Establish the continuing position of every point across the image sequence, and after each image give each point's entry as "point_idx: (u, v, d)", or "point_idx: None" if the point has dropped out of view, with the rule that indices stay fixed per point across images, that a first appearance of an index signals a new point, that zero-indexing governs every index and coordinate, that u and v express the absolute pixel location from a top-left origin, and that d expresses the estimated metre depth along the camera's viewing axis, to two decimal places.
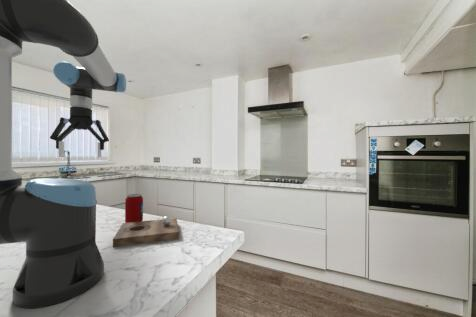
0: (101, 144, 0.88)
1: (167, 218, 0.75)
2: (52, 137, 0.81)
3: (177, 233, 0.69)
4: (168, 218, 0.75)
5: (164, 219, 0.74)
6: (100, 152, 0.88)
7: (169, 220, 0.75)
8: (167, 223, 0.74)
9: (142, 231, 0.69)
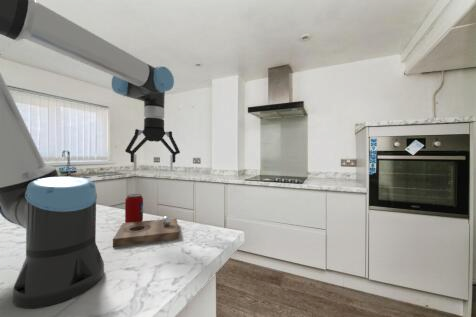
0: (174, 156, 0.84)
1: (167, 218, 0.75)
2: (127, 150, 0.76)
3: (177, 233, 0.69)
4: (168, 218, 0.75)
5: (164, 219, 0.74)
6: None
7: (169, 220, 0.75)
8: (167, 223, 0.74)
9: (142, 231, 0.69)
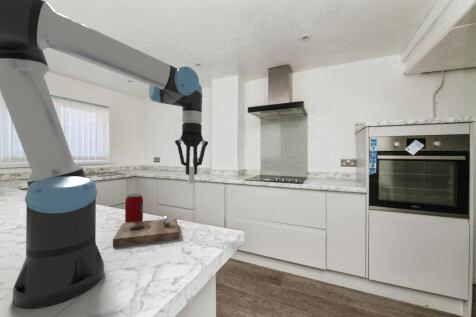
0: (195, 168, 0.79)
1: (167, 218, 0.75)
2: (183, 162, 0.76)
3: (177, 233, 0.69)
4: (168, 218, 0.75)
5: (164, 219, 0.74)
6: (193, 177, 0.79)
7: (169, 220, 0.75)
8: (167, 223, 0.74)
9: (142, 231, 0.69)
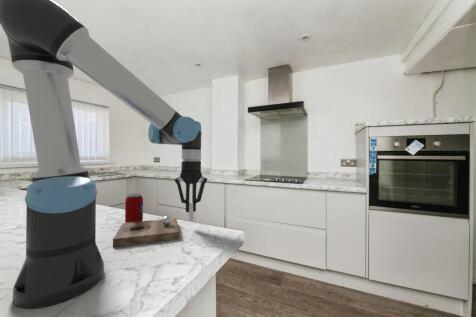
0: (194, 205, 0.79)
1: (167, 218, 0.75)
2: (183, 200, 0.77)
3: (177, 233, 0.69)
4: (168, 218, 0.75)
5: (164, 219, 0.74)
6: (192, 214, 0.79)
7: (169, 220, 0.75)
8: (167, 223, 0.74)
9: (142, 231, 0.69)
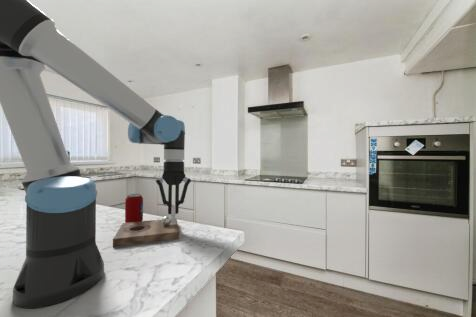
0: (177, 207, 0.76)
1: (167, 218, 0.75)
2: (165, 202, 0.74)
3: (177, 233, 0.69)
4: (168, 218, 0.75)
5: (164, 219, 0.74)
6: None
7: (169, 220, 0.75)
8: (167, 223, 0.74)
9: (142, 231, 0.69)
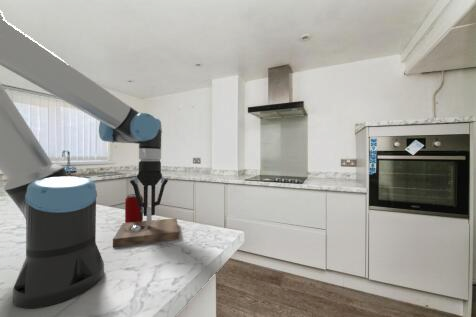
0: (153, 208, 0.73)
1: (136, 228, 0.71)
2: (140, 203, 0.71)
3: (177, 233, 0.69)
4: (137, 228, 0.71)
5: (133, 229, 0.71)
6: (151, 218, 0.74)
7: (138, 230, 0.71)
8: None
9: (142, 231, 0.69)
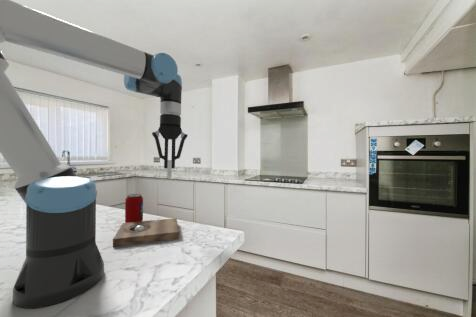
0: (173, 162, 0.76)
1: None
2: (161, 155, 0.74)
3: (177, 233, 0.69)
4: None
5: (139, 227, 0.72)
6: None
7: None
8: None
9: (142, 231, 0.69)
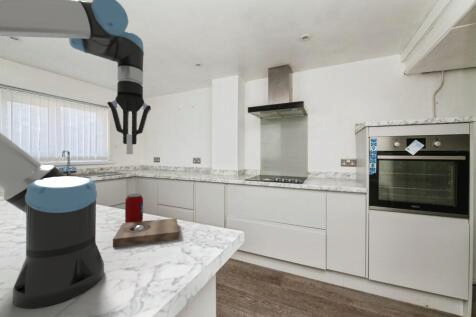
0: (134, 137, 0.66)
1: (142, 228, 0.72)
2: (119, 129, 0.64)
3: (177, 233, 0.69)
4: None
5: (139, 227, 0.71)
6: (132, 147, 0.67)
7: None
8: None
9: (142, 231, 0.69)
